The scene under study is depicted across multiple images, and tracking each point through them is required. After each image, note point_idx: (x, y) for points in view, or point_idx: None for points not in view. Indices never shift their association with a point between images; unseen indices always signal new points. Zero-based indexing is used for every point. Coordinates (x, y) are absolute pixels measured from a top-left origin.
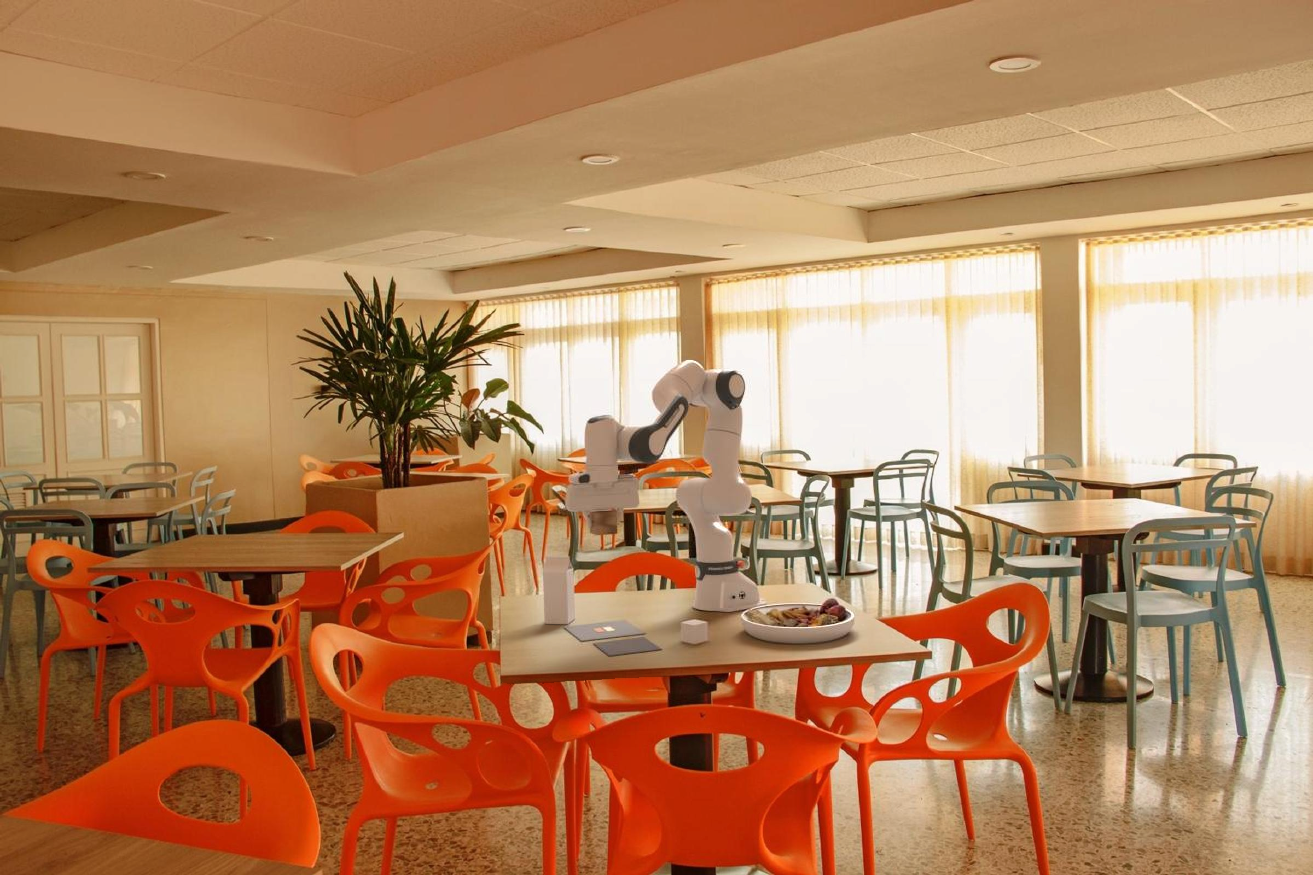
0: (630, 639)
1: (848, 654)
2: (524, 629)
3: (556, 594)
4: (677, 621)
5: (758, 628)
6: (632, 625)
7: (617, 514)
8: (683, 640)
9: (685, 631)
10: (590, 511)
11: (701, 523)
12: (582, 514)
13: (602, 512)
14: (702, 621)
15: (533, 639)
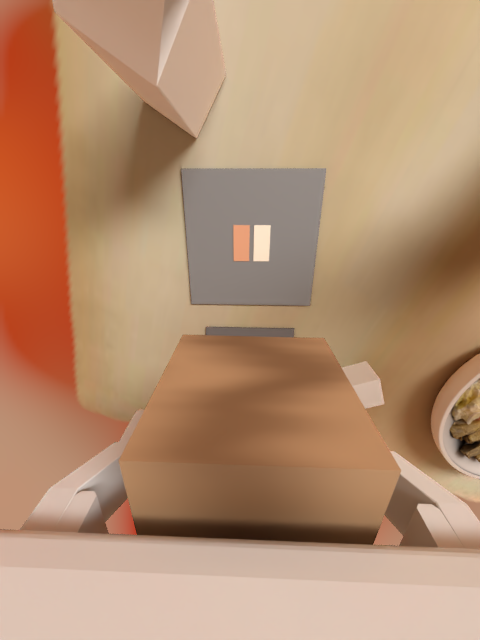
0: (268, 334)
1: (460, 495)
2: (94, 137)
3: (147, 93)
4: (416, 236)
5: (434, 435)
6: (316, 235)
7: (406, 482)
8: None
9: None
10: (128, 493)
11: None
12: (50, 490)
13: None
14: (380, 397)
15: (111, 245)
